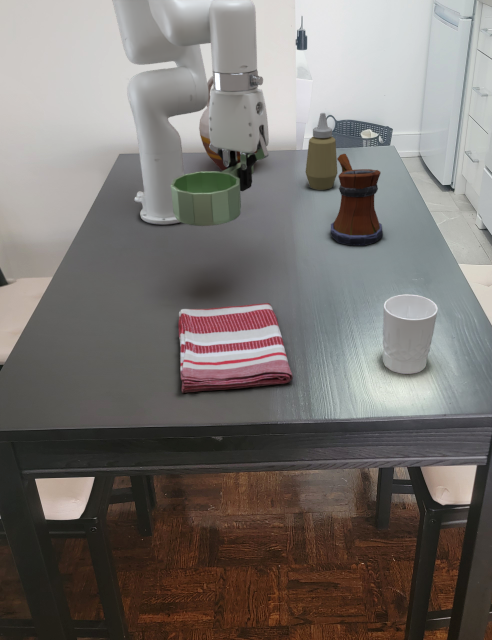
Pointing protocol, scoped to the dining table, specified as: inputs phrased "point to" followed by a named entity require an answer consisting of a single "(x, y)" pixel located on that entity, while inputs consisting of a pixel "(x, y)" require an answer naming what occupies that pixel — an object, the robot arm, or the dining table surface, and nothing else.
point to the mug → (356, 206)
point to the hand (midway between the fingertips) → (240, 187)
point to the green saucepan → (207, 197)
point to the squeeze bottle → (321, 157)
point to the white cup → (408, 332)
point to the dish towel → (231, 348)
